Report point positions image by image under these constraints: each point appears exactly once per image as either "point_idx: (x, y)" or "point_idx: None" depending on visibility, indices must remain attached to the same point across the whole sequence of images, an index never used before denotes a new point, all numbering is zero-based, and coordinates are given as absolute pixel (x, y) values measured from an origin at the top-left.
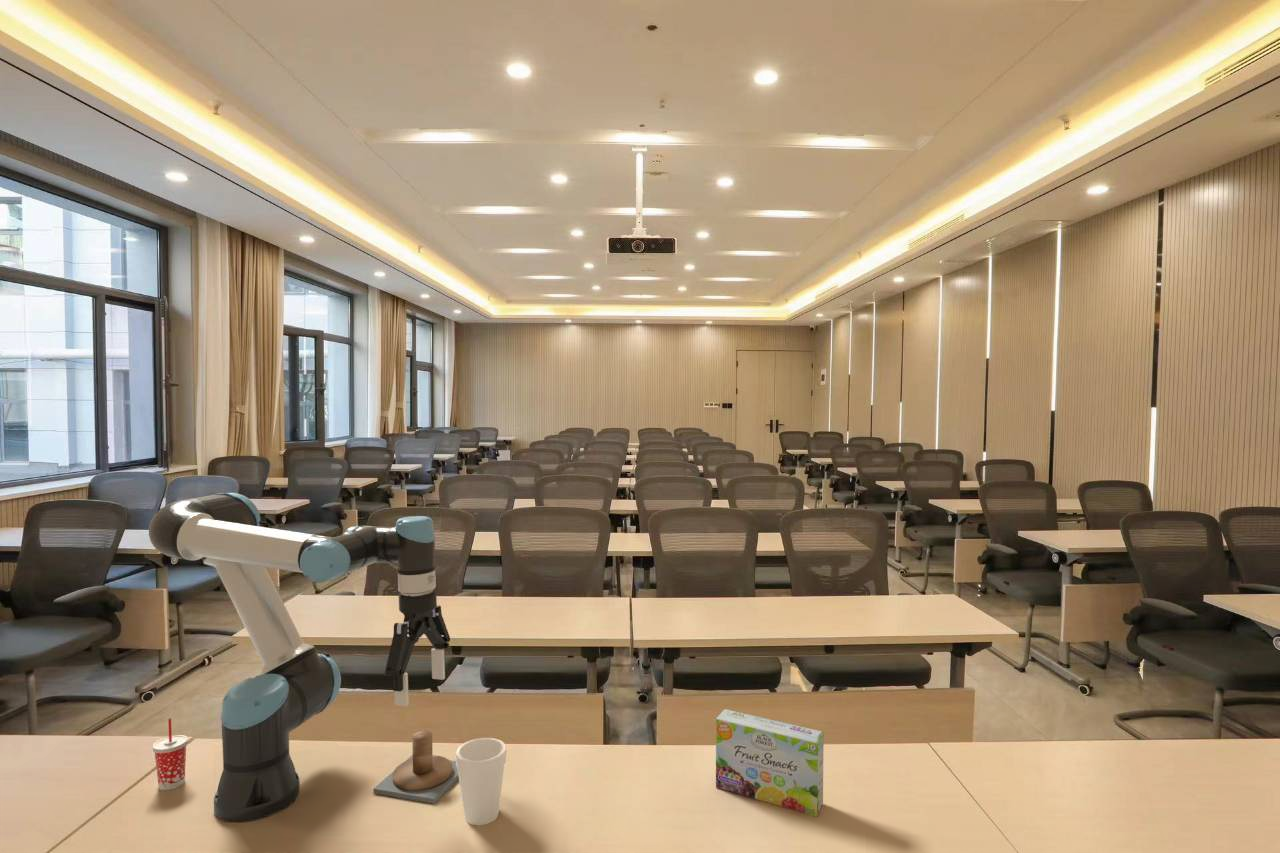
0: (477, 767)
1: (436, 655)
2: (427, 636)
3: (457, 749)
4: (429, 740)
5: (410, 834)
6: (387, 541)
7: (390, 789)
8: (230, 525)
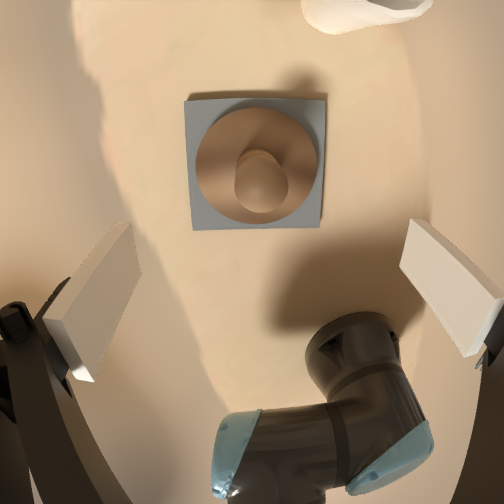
0: None
1: (92, 328)
2: (120, 488)
3: (401, 16)
4: (266, 159)
5: (403, 102)
6: None
7: (316, 196)
8: None
